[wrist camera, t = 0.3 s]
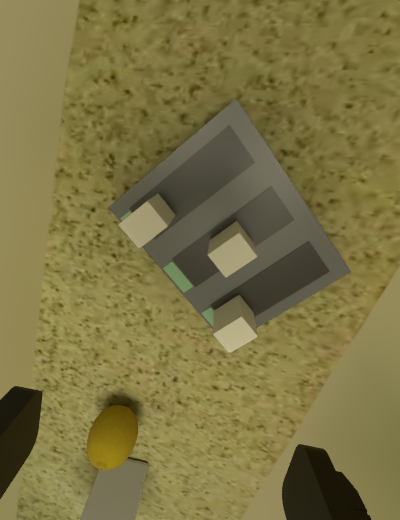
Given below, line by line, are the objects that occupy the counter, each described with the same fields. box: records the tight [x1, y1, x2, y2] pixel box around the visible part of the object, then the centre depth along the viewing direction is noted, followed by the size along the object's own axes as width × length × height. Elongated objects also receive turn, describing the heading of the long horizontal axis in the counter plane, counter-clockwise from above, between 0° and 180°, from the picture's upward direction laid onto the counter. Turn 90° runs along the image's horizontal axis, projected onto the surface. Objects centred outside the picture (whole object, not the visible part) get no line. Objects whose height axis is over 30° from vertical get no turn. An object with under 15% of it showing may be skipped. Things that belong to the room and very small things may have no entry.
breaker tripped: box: [208, 221, 257, 278], centre depth 25 cm, size 3×2×4 cm
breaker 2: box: [213, 295, 258, 353], centre depth 27 cm, size 3×2×4 cm
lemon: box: [87, 405, 138, 470], centre depth 35 cm, size 6×6×8 cm
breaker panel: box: [108, 99, 351, 329], centre depth 28 cm, size 14×18×3 cm
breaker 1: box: [119, 194, 176, 248], centre depth 25 cm, size 3×2×4 cm
